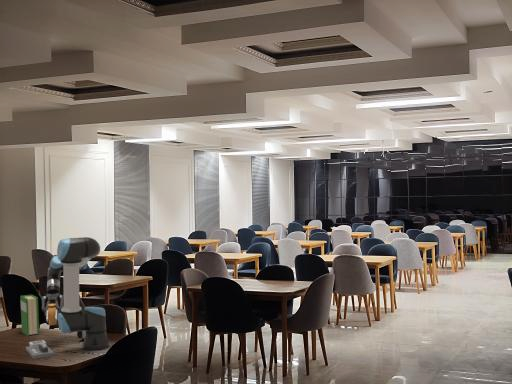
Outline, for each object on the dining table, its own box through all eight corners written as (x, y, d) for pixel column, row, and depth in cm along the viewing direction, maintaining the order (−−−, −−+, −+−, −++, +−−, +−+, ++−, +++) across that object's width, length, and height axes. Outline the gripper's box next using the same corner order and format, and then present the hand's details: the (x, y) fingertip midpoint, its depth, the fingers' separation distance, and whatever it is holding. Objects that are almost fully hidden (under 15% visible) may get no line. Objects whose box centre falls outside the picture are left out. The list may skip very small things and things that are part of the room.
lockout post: (58, 324, 392) (57, 303, 392) (51, 325, 389) (50, 305, 389) (54, 323, 395) (53, 303, 395) (47, 324, 392) (46, 304, 392)
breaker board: (25, 350, 383) (25, 340, 384) (45, 347, 389) (45, 337, 389) (33, 359, 360) (32, 348, 361) (54, 356, 366) (53, 345, 366)
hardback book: (39, 334, 428) (37, 297, 429) (27, 336, 425) (26, 298, 425) (33, 330, 444) (31, 294, 444) (21, 331, 440) (20, 295, 440)
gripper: (68, 290, 408) (67, 322, 392) (39, 292, 405) (37, 325, 389) (67, 283, 403) (66, 315, 387) (37, 285, 400) (35, 317, 384)
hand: (51, 320), depth 388 cm, fingers closed on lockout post, 4 cm apart
